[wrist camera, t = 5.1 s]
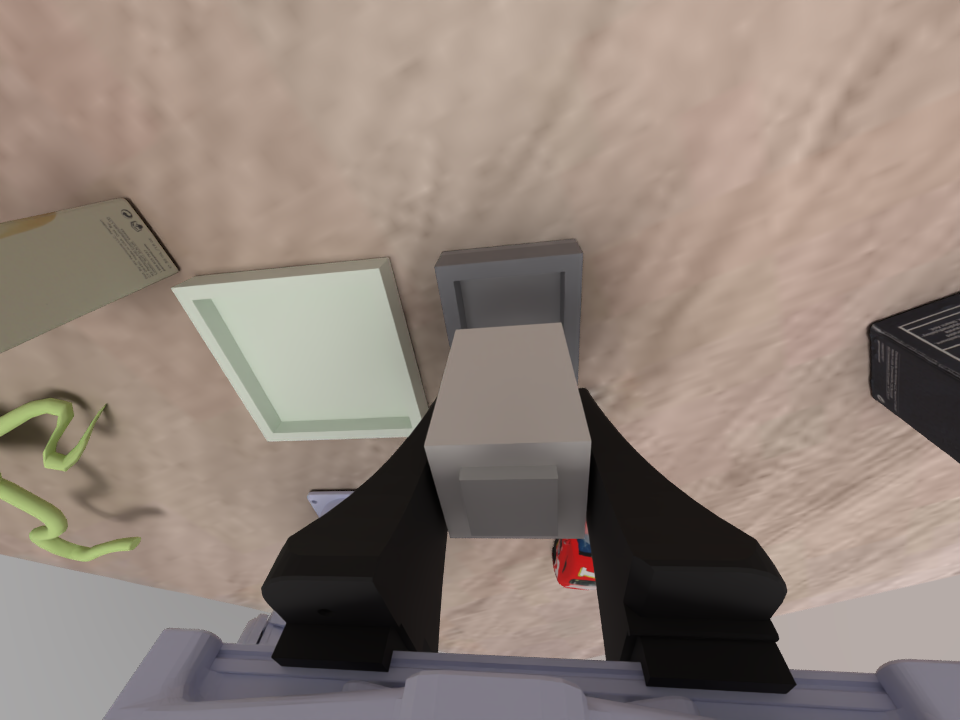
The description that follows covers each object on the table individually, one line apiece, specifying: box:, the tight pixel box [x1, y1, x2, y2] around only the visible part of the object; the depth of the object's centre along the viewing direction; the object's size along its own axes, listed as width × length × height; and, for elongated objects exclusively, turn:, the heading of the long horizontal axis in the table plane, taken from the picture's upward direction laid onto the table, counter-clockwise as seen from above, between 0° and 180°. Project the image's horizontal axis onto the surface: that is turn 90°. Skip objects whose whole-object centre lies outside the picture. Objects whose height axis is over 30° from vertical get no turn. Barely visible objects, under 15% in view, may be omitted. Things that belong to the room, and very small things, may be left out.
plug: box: [424, 322, 591, 539], centre depth 12 cm, size 4×4×6 cm
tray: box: [171, 257, 429, 441], centre depth 23 cm, size 12×12×2 cm
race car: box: [552, 523, 597, 590], centre depth 31 cm, size 13×5×4 cm, turn 176°
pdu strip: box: [434, 239, 583, 386], centre depth 22 cm, size 16×7×3 cm, turn 7°
